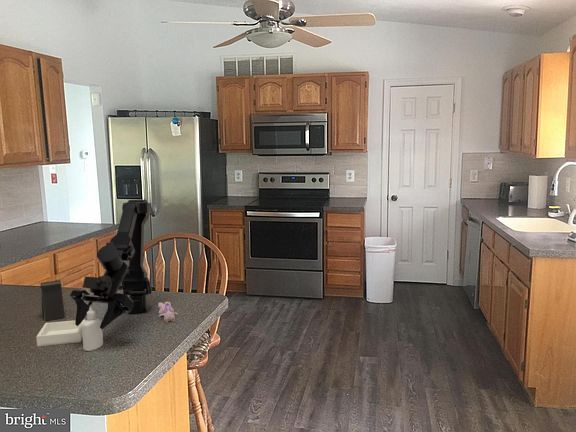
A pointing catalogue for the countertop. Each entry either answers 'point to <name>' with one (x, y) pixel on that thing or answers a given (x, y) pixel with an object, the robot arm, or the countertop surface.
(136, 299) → the robot arm
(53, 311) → the phone stand
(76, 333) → the tray
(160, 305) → the pink creature figurine
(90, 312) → the eye dropper bottle
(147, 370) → the countertop surface
